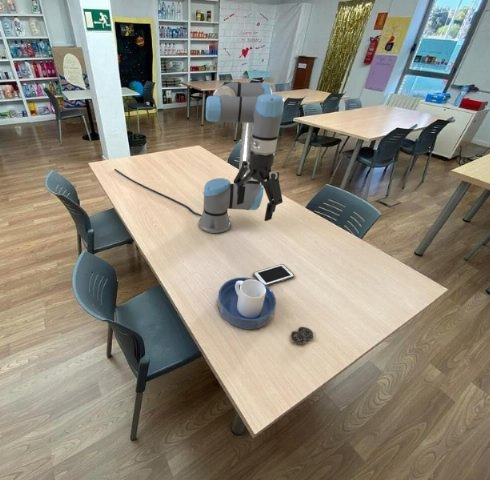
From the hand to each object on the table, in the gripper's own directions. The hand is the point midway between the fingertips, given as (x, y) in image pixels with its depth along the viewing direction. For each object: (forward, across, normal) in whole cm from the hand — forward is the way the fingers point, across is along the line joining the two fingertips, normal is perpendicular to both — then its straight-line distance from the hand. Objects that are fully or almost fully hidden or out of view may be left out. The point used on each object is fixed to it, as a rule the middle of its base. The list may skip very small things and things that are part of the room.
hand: (253, 211), depth 99 cm
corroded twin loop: (+27, +34, -8) cm, 44 cm away
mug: (+26, +15, -14) cm, 33 cm away
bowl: (+27, +15, -14) cm, 34 cm away
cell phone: (+27, +10, +6) cm, 29 cm away
